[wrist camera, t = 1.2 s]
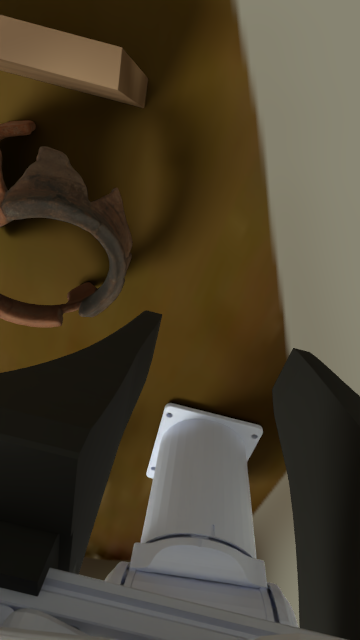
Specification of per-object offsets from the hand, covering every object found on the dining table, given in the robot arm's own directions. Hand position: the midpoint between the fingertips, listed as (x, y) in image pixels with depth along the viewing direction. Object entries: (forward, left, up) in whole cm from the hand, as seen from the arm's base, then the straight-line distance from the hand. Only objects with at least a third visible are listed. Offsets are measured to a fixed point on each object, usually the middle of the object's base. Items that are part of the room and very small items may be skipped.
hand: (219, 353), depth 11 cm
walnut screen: (+8, +12, -8) cm, 16 cm away
